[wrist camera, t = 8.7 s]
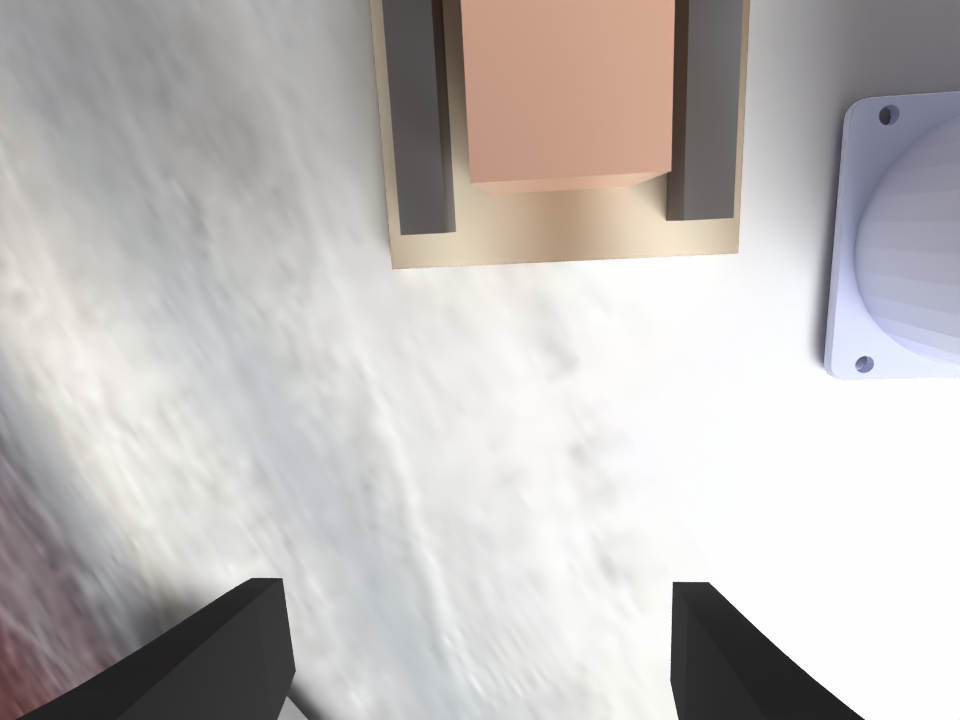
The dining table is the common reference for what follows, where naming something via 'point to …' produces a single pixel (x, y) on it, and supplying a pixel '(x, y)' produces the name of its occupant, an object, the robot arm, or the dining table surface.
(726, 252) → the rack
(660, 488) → the dining table surface
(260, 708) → the robot arm
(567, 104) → the clay block
